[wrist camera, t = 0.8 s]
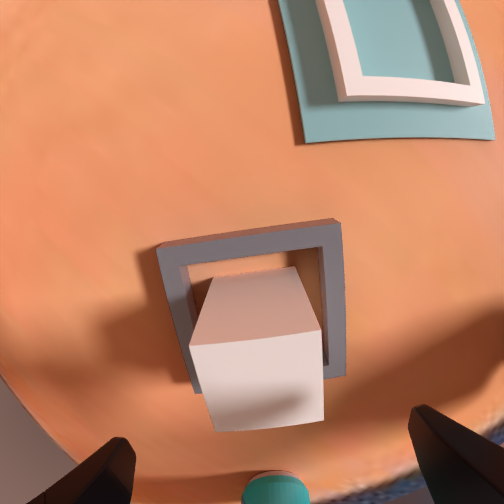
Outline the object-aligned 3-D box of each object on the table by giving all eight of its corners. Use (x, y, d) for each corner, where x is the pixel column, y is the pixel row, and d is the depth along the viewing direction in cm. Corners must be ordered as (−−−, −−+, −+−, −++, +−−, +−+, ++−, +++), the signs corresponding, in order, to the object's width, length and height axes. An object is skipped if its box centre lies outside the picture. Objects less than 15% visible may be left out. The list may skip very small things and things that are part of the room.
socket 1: (332, 218, 16) (340, 222, 14) (339, 361, 18) (345, 375, 17) (163, 242, 16) (155, 249, 15) (198, 379, 18) (194, 393, 17)
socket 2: (443, -25, 11) (455, -35, 9) (491, 140, 14) (510, 139, 12) (265, -47, 11) (266, -64, 10) (304, 143, 15) (311, 139, 13)
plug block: (294, 265, 16) (321, 329, 10) (302, 345, 18) (323, 429, 11) (213, 277, 17) (188, 345, 10) (229, 354, 18) (218, 440, 11)
